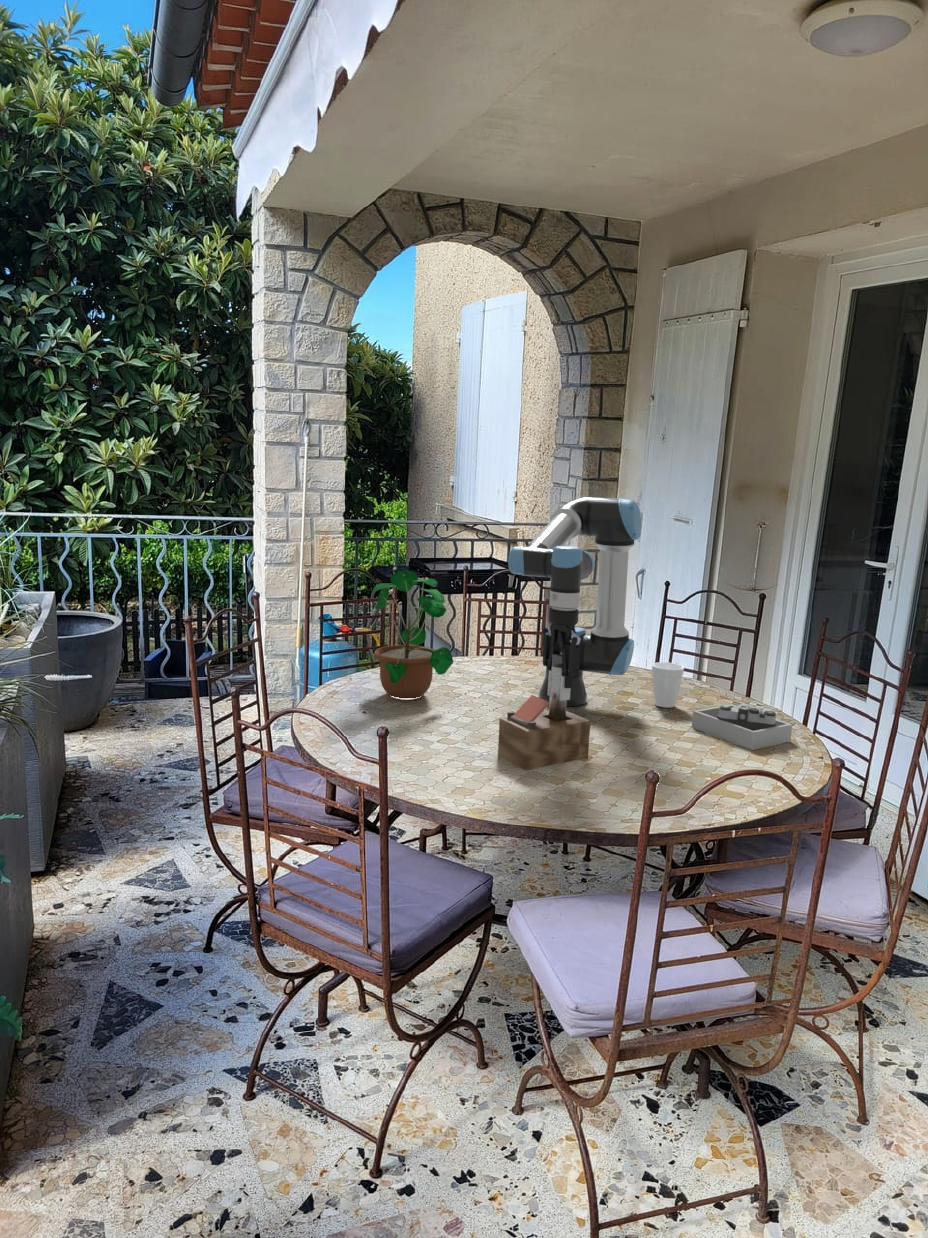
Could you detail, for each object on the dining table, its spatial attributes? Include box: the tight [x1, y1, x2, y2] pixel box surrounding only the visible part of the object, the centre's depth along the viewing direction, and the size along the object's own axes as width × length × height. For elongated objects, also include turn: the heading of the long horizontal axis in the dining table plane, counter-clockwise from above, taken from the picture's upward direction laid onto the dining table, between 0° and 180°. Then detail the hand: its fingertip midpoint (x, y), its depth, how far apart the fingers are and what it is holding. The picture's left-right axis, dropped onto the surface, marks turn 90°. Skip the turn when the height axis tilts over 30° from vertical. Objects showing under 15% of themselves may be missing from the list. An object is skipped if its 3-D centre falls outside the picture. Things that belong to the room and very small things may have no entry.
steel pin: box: [548, 652, 567, 717], centre depth 225 cm, size 4×4×16 cm
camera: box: [717, 703, 777, 731], centre depth 249 cm, size 16×10×10 cm, turn 70°
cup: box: [651, 661, 685, 708], centre depth 276 cm, size 10×10×13 cm
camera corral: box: [691, 704, 793, 751], centre depth 251 cm, size 16×22×5 cm
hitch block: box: [497, 710, 591, 771], centre depth 225 cm, size 20×12×12 cm, turn 122°
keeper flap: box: [510, 694, 550, 727], centre depth 221 cm, size 8×7×1 cm
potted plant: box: [371, 570, 454, 698], centre depth 275 cm, size 31×29×40 cm
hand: (558, 697), depth 226 cm, fingers closed on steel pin, 4 cm apart
